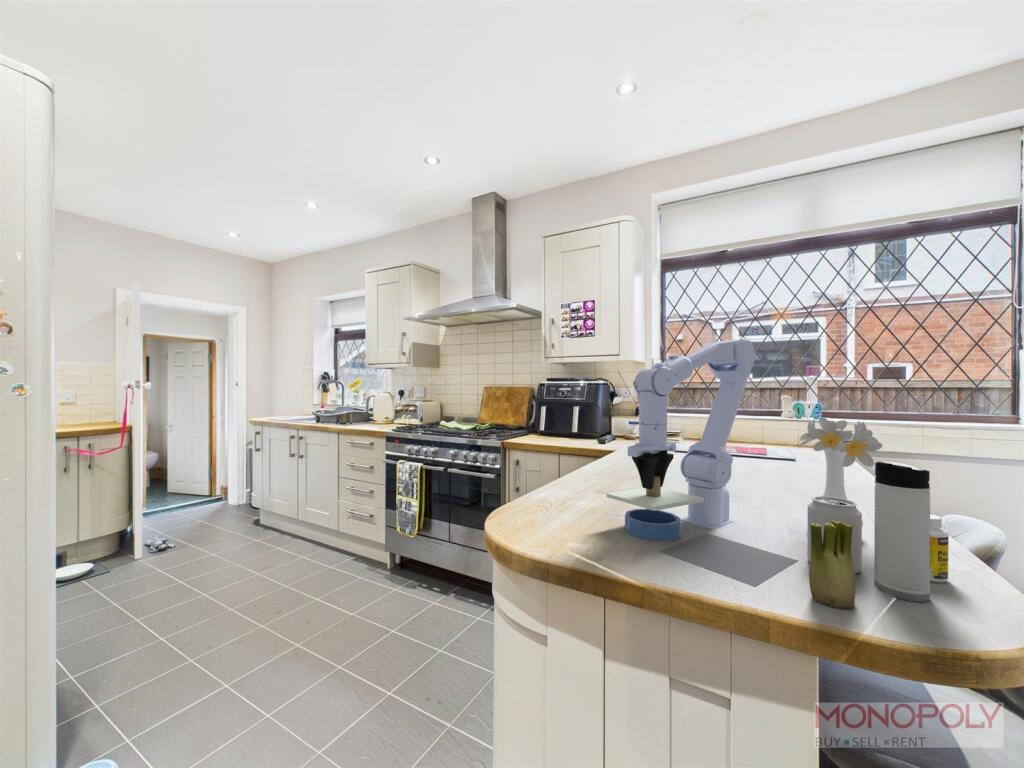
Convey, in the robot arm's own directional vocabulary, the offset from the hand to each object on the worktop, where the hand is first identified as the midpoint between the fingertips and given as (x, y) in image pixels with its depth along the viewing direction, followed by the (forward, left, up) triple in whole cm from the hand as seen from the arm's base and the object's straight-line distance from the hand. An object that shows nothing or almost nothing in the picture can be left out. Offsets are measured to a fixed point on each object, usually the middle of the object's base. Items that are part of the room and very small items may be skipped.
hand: (652, 487), depth 89 cm
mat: (0, +16, -10) cm, 19 cm away
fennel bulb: (+4, +33, -10) cm, 35 cm away
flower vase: (-32, +24, -10) cm, 41 cm away
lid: (0, 0, -2) cm, 3 cm away
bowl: (0, 0, -10) cm, 10 cm away
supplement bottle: (-20, +39, -10) cm, 45 cm away
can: (-11, +29, -10) cm, 33 cm away
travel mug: (-9, +38, -10) cm, 40 cm away
